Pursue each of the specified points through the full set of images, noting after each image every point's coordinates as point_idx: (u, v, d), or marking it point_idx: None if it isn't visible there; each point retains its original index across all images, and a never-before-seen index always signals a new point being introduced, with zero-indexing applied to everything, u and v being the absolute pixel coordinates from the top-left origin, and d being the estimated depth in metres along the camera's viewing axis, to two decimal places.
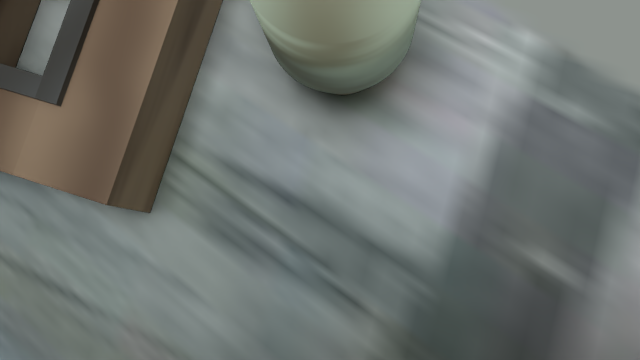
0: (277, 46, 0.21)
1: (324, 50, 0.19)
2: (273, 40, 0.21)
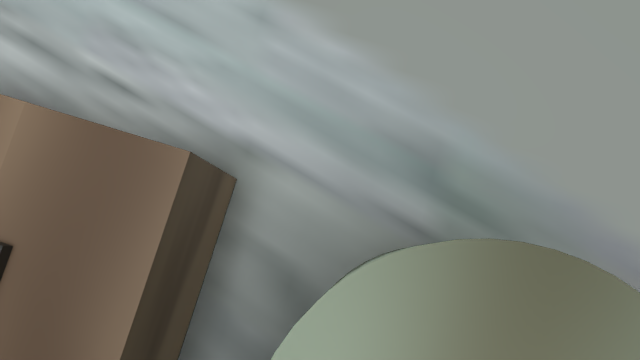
0: None
1: None
2: None
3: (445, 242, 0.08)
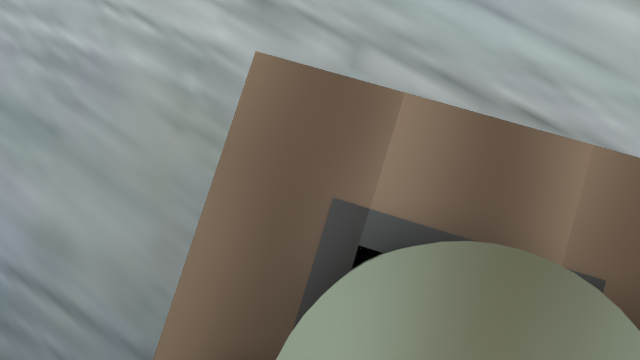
0: None
1: None
2: None
3: (431, 244, 0.09)
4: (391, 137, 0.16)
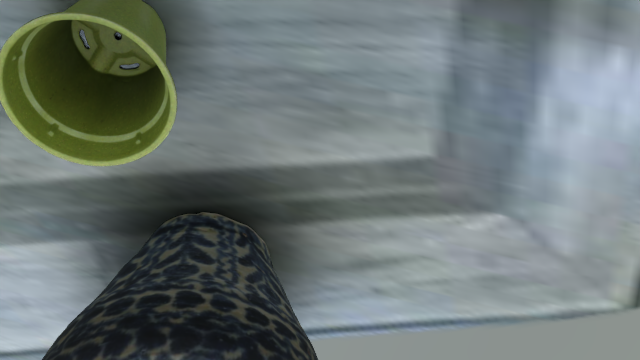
0: None
1: None
2: None
3: None
4: None
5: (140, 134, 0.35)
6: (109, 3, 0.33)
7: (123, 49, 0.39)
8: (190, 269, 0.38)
